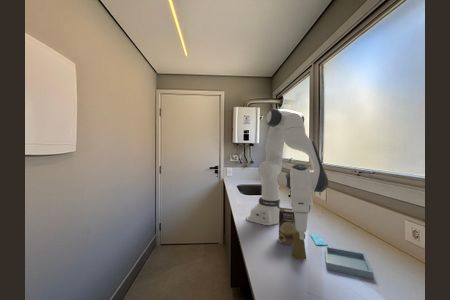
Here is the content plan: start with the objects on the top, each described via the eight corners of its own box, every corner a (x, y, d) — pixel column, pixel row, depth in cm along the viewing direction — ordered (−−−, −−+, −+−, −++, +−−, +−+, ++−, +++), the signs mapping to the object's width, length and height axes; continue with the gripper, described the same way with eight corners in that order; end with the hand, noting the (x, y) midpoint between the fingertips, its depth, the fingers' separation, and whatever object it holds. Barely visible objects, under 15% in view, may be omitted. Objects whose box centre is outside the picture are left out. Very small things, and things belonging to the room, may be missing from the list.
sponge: (320, 234, 107) (309, 232, 107) (329, 245, 95) (316, 243, 96) (320, 237, 107) (309, 235, 107) (328, 248, 95) (315, 246, 96)
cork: (289, 252, 89) (289, 228, 89) (302, 252, 90) (302, 228, 90) (295, 260, 83) (295, 234, 83) (309, 259, 84) (309, 234, 84)
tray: (326, 268, 78) (326, 262, 77) (324, 251, 90) (324, 246, 90) (373, 279, 71) (373, 272, 71) (364, 259, 84) (364, 253, 84)
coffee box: (278, 243, 98) (278, 210, 98) (279, 237, 104) (279, 207, 104) (297, 246, 95) (298, 212, 95) (297, 240, 101) (297, 208, 101)
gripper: (295, 196, 97) (296, 224, 97) (291, 208, 78) (293, 243, 78) (309, 197, 94) (310, 226, 94) (309, 209, 75) (310, 246, 75)
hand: (302, 234), depth 86 cm, fingers open, 8 cm apart
